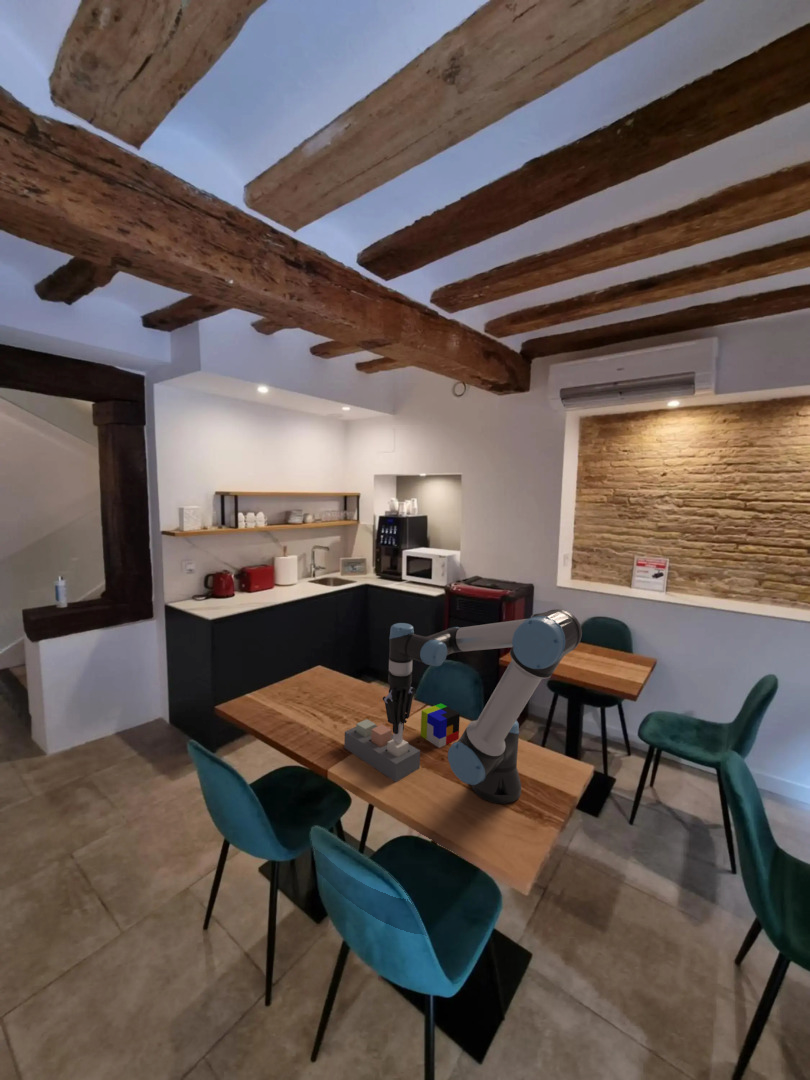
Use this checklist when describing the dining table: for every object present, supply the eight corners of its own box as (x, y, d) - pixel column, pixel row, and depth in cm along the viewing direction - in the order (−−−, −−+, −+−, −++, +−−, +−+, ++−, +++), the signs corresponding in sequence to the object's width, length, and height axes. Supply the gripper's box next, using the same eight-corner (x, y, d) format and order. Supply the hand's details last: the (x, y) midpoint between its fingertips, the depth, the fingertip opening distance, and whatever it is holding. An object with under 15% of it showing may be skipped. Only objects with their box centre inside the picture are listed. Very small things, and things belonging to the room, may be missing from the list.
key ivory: (407, 764, 149) (408, 742, 148) (397, 770, 145) (397, 748, 145) (397, 757, 152) (398, 736, 151) (386, 763, 149) (387, 741, 148)
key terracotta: (390, 750, 154) (391, 729, 154) (380, 756, 151) (381, 734, 150) (381, 745, 158) (382, 724, 157) (370, 750, 154) (371, 729, 154)
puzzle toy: (439, 748, 162) (440, 721, 161) (420, 736, 169) (421, 710, 168) (458, 739, 168) (459, 713, 167) (439, 727, 176) (440, 703, 175)
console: (419, 767, 149) (420, 750, 149) (395, 782, 142) (396, 764, 141) (368, 736, 168) (368, 721, 167) (344, 747, 160) (344, 731, 159)
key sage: (375, 744, 160) (375, 724, 159) (364, 749, 157) (365, 728, 156) (366, 739, 163) (366, 719, 163) (355, 743, 160) (356, 723, 159)
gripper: (406, 663, 153) (403, 730, 155) (377, 673, 144) (375, 744, 146) (422, 670, 148) (419, 738, 150) (393, 680, 138) (391, 753, 141)
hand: (397, 741), depth 148 cm, fingers closed
